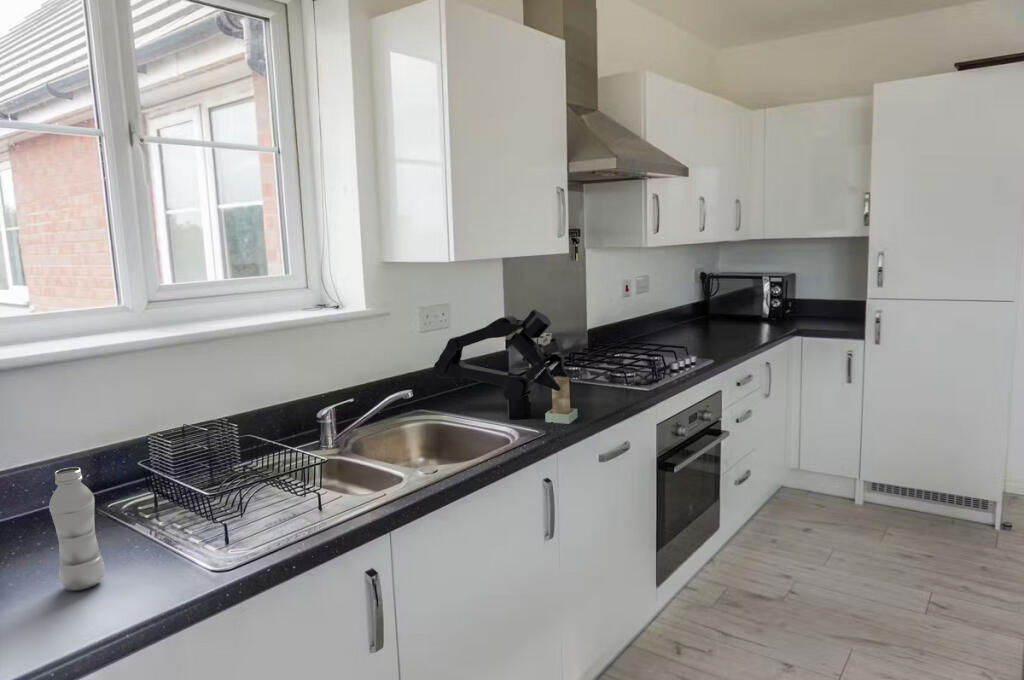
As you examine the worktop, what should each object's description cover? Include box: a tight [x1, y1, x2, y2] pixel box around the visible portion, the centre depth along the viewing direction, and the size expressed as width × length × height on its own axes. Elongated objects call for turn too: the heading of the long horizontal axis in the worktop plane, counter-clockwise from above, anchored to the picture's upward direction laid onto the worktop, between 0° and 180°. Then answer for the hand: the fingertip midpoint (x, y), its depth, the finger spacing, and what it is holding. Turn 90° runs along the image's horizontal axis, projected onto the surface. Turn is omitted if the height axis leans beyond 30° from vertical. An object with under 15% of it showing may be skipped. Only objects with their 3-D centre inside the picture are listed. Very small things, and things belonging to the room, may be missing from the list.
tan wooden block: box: [551, 376, 571, 415], centre depth 206 cm, size 4×4×12 cm
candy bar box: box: [528, 332, 554, 379], centre depth 270 cm, size 11×5×16 cm, turn 147°
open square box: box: [544, 408, 579, 425], centre depth 207 cm, size 7×7×3 cm
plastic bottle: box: [48, 466, 105, 592], centre depth 115 cm, size 6×7×20 cm
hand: (565, 386), depth 205 cm, fingers open, 9 cm apart
